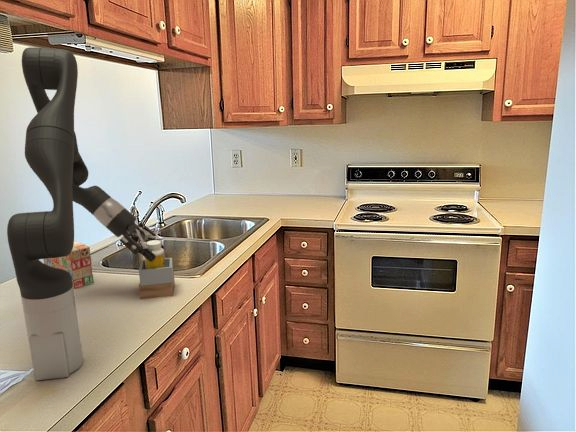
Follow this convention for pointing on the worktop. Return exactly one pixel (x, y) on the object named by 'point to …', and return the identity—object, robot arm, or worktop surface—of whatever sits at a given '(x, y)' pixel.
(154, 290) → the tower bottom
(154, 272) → the tower top
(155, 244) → the supplement bottle
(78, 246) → the stack of blocks
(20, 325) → the worktop surface
